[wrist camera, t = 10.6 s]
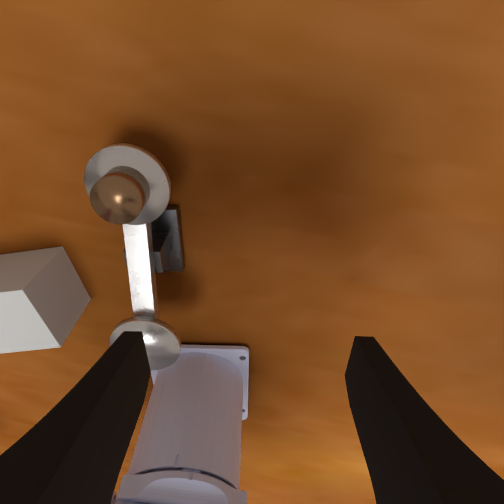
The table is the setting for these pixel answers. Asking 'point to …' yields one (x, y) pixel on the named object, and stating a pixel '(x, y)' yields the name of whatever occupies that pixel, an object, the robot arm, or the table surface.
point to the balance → (140, 236)
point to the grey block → (38, 299)
